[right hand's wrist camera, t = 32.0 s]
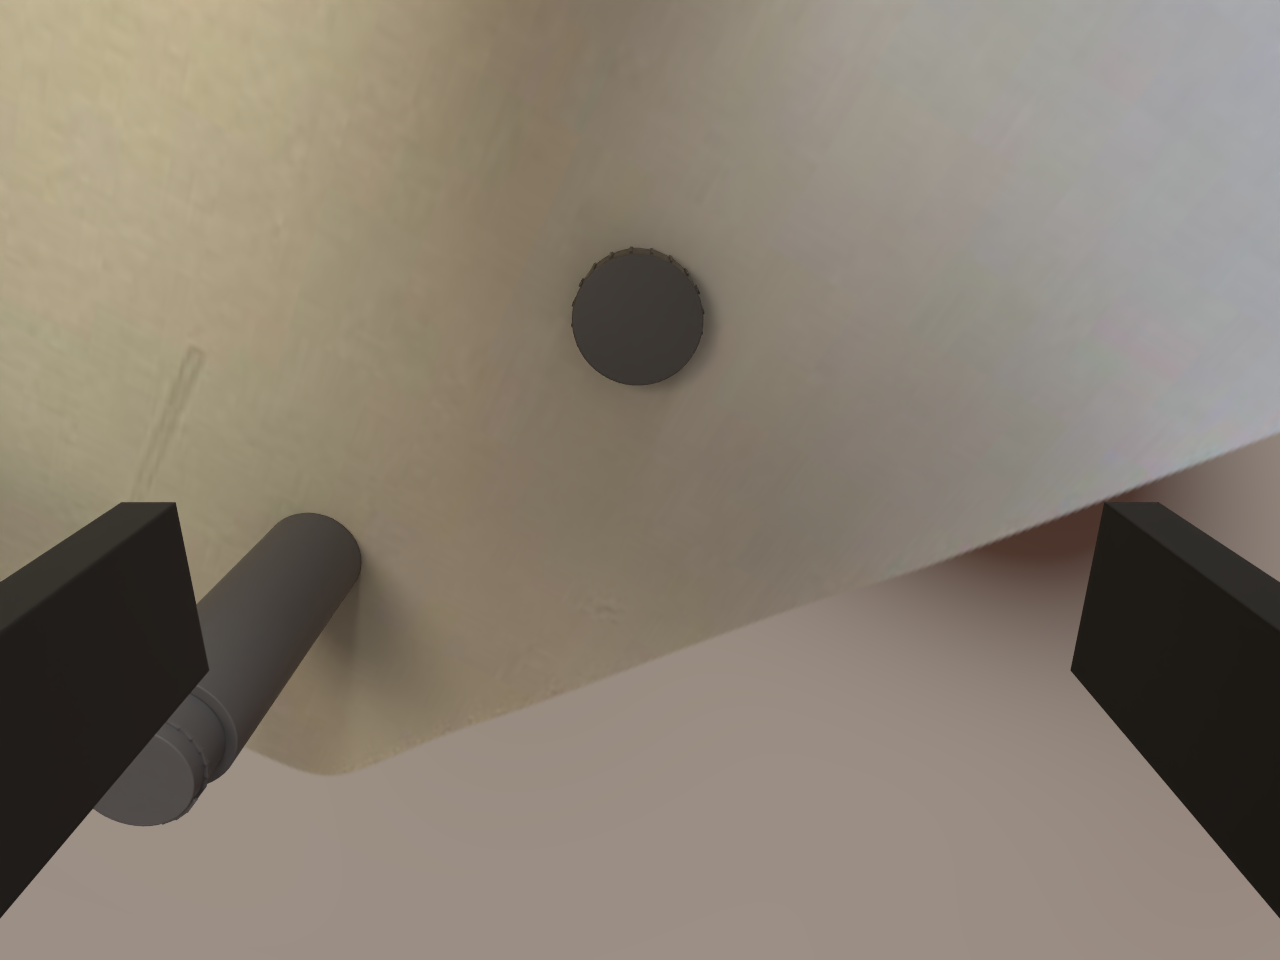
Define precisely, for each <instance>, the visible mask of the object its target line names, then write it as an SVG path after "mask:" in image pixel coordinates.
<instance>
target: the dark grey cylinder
mask: <svg viewBox="0 0 1280 960" xmlns="http://www.w3.org/2000/svg"><path fill="white" fill-rule="evenodd" d="M360 569H361V555H360V551H359V548H358V545H357V543H356V541H355V539H354V538H353V536H352V535H351V534H350V533H349V531H348V530H347V529H346V528H345V527H343V526H342V525H341V524H339V523H338V522H336V521H335V520H333V519H331V518H329V517H326V516H323V515H319V514H313V513H301V514H295V515H292V516H289V517H287V518H285V519H283V520H282V521H280V522H279V523H278V524H277V525H276V526H274V527H273V528H272V529H271V530H270V531H269V532H268V533H267V534H266V535H265V537H264V538H263V539H262V540H261V541H260V542H259V543H258V544H257V545H256V546H255V547H254V548H253V549H252V550H251V551H250V552H249V553H248V554H247V555H246V556H245V557H244V558H243V559H242V560H241V561H240V562H239V563H238V564H237V565H236V566H235V567H234V568H233V569H232V570H231V571H230V572H229V573H228V574H227V575H226V576H225V577H224V578H223V579H222V580H221V581H220V582H219V583H218V584H217V585H216V586H215V587H214V588H213V589H212V590H211V591H210V592H209V593H208V594H207V595H206V596H205V597H204V598H203V599H202V600H201V601H200V602H199V603H198V604H197V605H196V606H197V611H198V616H199V621H200V626H201V631H202V636H203V641H204V646H205V651H206V656H207V661H208V666H209V671H208V673H207V674H206V675H205V676H204V677H203V679H202V680H201V681H200V682H199V683H198V685H197V686H196V687H195V688H194V689H193V690H192V692H191V693H190V694H189V695H188V696H187V698H186V699H185V700H184V701H183V702H182V703H181V705H180V706H179V707H178V708H177V709H176V711H175V712H174V713H173V714H172V715H171V717H170V718H169V719H168V720H167V721H166V722H165V724H164V725H163V726H162V727H161V728H160V730H159V731H158V732H157V733H156V734H155V735H154V737H153V738H152V739H151V740H150V741H149V743H148V744H147V745H146V746H145V747H144V748H143V750H142V751H141V752H140V753H139V754H138V756H137V757H136V758H135V759H134V760H133V762H132V763H131V764H130V765H129V766H128V767H127V769H126V770H125V771H124V772H123V773H122V775H121V776H120V777H119V778H118V779H117V780H116V782H115V783H114V784H113V785H112V786H111V788H110V789H109V790H108V791H107V792H106V794H105V795H104V796H103V797H102V798H101V799H100V801H99V802H98V803H97V804H96V805H95V807H94V808H93V809H95V810H96V811H97V812H99V813H100V814H102V815H104V816H106V817H108V818H110V819H112V820H115V821H117V822H121V823H124V824H128V825H134V826H153V825H159V824H165V823H168V822H171V821H173V820H177V819H179V818H180V817H182V816H183V815H184V814H186V813H188V812H189V810H190V809H191V808H192V806H193V805H194V804H195V802H196V801H197V799H198V797H199V796H200V794H201V793H202V792H203V791H204V789H205V788H206V786H207V784H208V783H210V782H212V781H214V780H216V779H217V778H219V777H220V776H222V775H223V774H224V773H225V772H226V771H227V770H228V769H229V768H230V766H231V765H232V763H233V762H234V760H235V759H236V757H237V756H238V754H239V753H240V751H241V750H242V748H243V747H244V745H245V744H246V743H247V741H248V740H249V738H250V737H251V735H252V734H253V732H254V731H255V729H256V728H257V726H258V725H259V723H260V722H261V720H262V719H263V717H264V716H265V714H266V713H267V711H268V710H269V708H270V707H271V706H272V704H273V703H274V701H275V700H276V698H277V697H278V695H279V694H280V692H281V691H282V689H283V688H284V686H285V685H286V683H287V682H288V680H289V679H290V677H291V676H292V674H293V673H294V671H295V670H296V669H297V667H298V666H299V664H300V663H301V661H302V660H303V658H304V657H305V655H306V654H307V652H308V651H309V649H310V648H311V646H312V645H313V643H314V642H315V640H316V639H317V637H318V636H319V634H320V633H321V632H322V630H323V629H324V627H325V626H326V624H327V623H328V621H329V620H330V618H331V617H332V615H333V614H334V612H335V611H336V609H337V608H338V606H339V605H340V603H341V602H342V600H343V599H344V597H345V596H346V595H347V593H348V592H349V590H350V589H351V587H352V586H353V584H354V583H355V581H356V580H357V578H358V575H359V572H360Z"/></svg>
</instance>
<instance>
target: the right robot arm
mask: <svg viewBox="0 0 1280 960" xmlns="http://www.w3.org/2000/svg"><path fill="white" fill-rule="evenodd" d="M208 671H209V666H208V661H207V656H206V651H205V646H204V641H203V636H202V631H201V626H200V621H199V616H198V611H197V606H196V601H195V596H194V591H193V586H192V581H191V576H190V571H189V567H188V562H187V557H186V552H185V547H184V542H183V537H182V532H181V527H180V522H179V517H178V512H177V507H176V502H121V503H120V504H118V505H117V506H115V507H114V508H112V509H111V510H109V511H108V512H106V513H105V514H103V515H102V516H100V517H98V518H97V519H95V520H94V521H92V522H91V523H89V524H88V525H86V526H85V527H83V528H82V529H80V530H79V531H77V532H76V533H74V534H73V535H71V536H70V537H68V538H67V539H65V540H64V541H62V542H61V543H59V544H58V545H56V546H55V547H53V548H52V549H50V550H48V551H47V552H45V553H44V554H42V555H41V556H39V557H38V558H36V559H35V560H33V561H32V562H30V563H29V564H27V565H26V566H24V567H23V568H21V569H20V570H18V571H17V572H15V573H14V574H12V575H11V576H9V577H8V578H6V579H5V580H3V581H1V582H0V918H1V917H2V916H3V914H4V913H5V912H6V911H7V910H8V908H9V907H10V906H11V905H12V904H13V903H14V901H15V900H16V899H17V898H18V897H19V895H20V894H21V893H22V892H23V891H24V889H25V888H26V887H27V886H28V885H29V884H30V882H31V881H32V880H33V879H34V878H35V876H36V875H37V874H38V873H39V872H40V871H41V869H42V868H43V867H44V866H45V865H46V863H47V862H48V861H49V860H50V859H51V857H52V856H53V855H54V854H55V853H56V852H57V850H58V849H59V848H60V847H61V846H62V844H63V843H64V842H65V841H66V840H67V839H68V837H69V836H70V835H71V834H72V833H73V831H74V830H75V829H76V828H77V827H78V826H79V824H80V823H81V822H82V821H83V820H84V818H85V817H86V816H87V815H88V814H89V812H90V811H91V810H92V809H93V808H94V807H95V805H96V804H97V803H98V802H99V801H100V799H101V798H102V797H103V796H104V795H105V794H106V792H107V791H108V790H109V789H110V788H111V786H112V785H113V784H114V783H115V782H116V780H117V779H118V778H119V777H120V776H121V775H122V773H123V772H124V771H125V770H126V769H127V767H128V766H129V765H130V764H131V763H132V762H133V760H134V759H135V758H136V757H137V756H138V754H139V753H140V752H141V751H142V750H143V748H144V747H145V746H146V745H147V744H148V743H149V741H150V740H151V739H152V738H153V737H154V735H155V734H156V733H157V732H158V731H159V730H160V728H161V727H162V726H163V725H164V724H165V722H166V721H167V720H168V719H169V718H170V717H171V715H172V714H173V713H174V712H175V711H176V709H177V708H178V707H179V706H180V705H181V703H182V702H183V701H184V700H185V699H186V698H187V696H188V695H189V694H190V693H191V692H192V690H193V689H194V688H195V687H196V686H197V685H198V683H199V682H200V681H201V680H202V679H203V677H204V676H205V675H206V674H207V673H208ZM1071 671H1072V673H1073V674H1074V675H1075V676H1076V677H1077V679H1078V680H1079V681H1080V682H1081V683H1082V685H1083V686H1084V687H1085V688H1086V689H1087V690H1088V692H1089V693H1090V694H1091V695H1092V696H1093V698H1094V699H1095V700H1096V701H1097V702H1098V703H1099V705H1100V706H1101V707H1102V708H1103V709H1104V711H1105V712H1106V713H1107V714H1108V715H1109V717H1110V718H1111V719H1112V720H1113V721H1114V722H1115V724H1116V725H1117V726H1118V727H1119V728H1120V730H1121V731H1122V732H1123V733H1124V734H1125V735H1126V737H1127V738H1128V739H1129V740H1130V741H1131V743H1132V744H1133V745H1134V746H1135V747H1136V748H1137V750H1138V751H1139V752H1140V753H1141V754H1142V756H1143V757H1144V758H1145V759H1146V760H1147V762H1148V763H1149V764H1150V765H1151V766H1152V767H1153V769H1154V770H1155V771H1156V772H1157V773H1158V775H1159V776H1160V777H1161V778H1162V779H1163V780H1164V782H1165V783H1166V784H1167V785H1168V786H1169V788H1170V789H1171V790H1172V791H1173V792H1174V794H1175V795H1176V796H1177V797H1178V798H1179V799H1180V801H1181V802H1182V803H1183V804H1184V805H1185V807H1186V808H1187V809H1188V810H1189V811H1190V812H1191V814H1192V815H1193V816H1194V817H1195V818H1196V820H1197V821H1198V822H1199V823H1200V824H1201V826H1202V827H1203V828H1204V829H1205V830H1206V831H1207V833H1208V834H1209V835H1210V836H1211V837H1212V838H1213V840H1214V841H1215V842H1216V843H1217V844H1218V846H1219V847H1220V848H1221V849H1222V850H1223V852H1224V853H1225V854H1226V855H1227V856H1228V858H1229V859H1230V860H1231V861H1232V862H1233V863H1234V865H1235V866H1236V867H1237V868H1238V869H1239V871H1240V872H1241V873H1242V874H1243V875H1244V876H1245V878H1246V879H1247V880H1248V881H1249V882H1250V884H1251V885H1252V886H1253V887H1254V888H1255V889H1256V891H1257V892H1258V893H1259V894H1260V895H1261V897H1262V898H1263V899H1264V900H1265V901H1266V903H1267V904H1268V905H1269V906H1270V907H1271V908H1272V910H1273V911H1274V912H1275V913H1276V914H1277V915H1278V917H1279V918H1280V582H1279V581H1277V580H1275V579H1274V578H1272V577H1271V576H1269V575H1268V574H1266V573H1265V572H1263V571H1262V570H1260V569H1259V568H1257V567H1256V566H1254V565H1253V564H1251V563H1250V562H1248V561H1247V560H1245V559H1244V558H1242V557H1241V556H1239V555H1238V554H1236V553H1235V552H1233V551H1232V550H1230V549H1228V548H1227V547H1225V546H1224V545H1222V544H1221V543H1219V542H1218V541H1216V540H1215V539H1213V538H1212V537H1210V536H1209V535H1207V534H1206V533H1204V532H1203V531H1201V530H1200V529H1198V528H1197V527H1195V526H1194V525H1192V524H1191V523H1189V522H1188V521H1186V520H1184V519H1183V518H1181V517H1180V516H1178V515H1177V514H1175V513H1174V512H1172V511H1171V510H1169V509H1168V508H1166V507H1165V506H1163V505H1162V504H1160V503H1159V502H1105V503H1104V507H1103V512H1102V517H1101V522H1100V527H1099V532H1098V537H1097V542H1096V547H1095V552H1094V557H1093V562H1092V567H1091V571H1090V576H1089V582H1088V586H1087V591H1086V596H1085V601H1084V606H1083V611H1082V616H1081V621H1080V626H1079V631H1078V636H1077V641H1076V646H1075V651H1074V656H1073V661H1072V666H1071Z"/></svg>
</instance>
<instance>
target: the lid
mask: <svg viewBox="0 0 1280 960" xmlns="http://www.w3.org/2000/svg"><path fill="white" fill-rule="evenodd" d="M579 287H580V289H579V291H578V293H577V296H576V297H575V299H574V301H573V303H572V306H573V313H572V324H571V326H572V327H573V333H574V337H575V340H576V343H577V346H578V348H579V350H580V352H581V353H582V355H583V357H584V358H585V359H586V361H587V362H588V363H589V364H590V365H591V366H592V367H593V368H594V369H595V370H596V371H598V372H599V373H600V374H602V375H603V376H605V377H607V378H609V379H611V380H613V381H616V382H619V383H623V384H628V385H647V384H653V383H656V382H660V381H662V380H664V379H667V378H668V377H670V376H672V375H674V374H675V373H676V372H678V371H679V370H680V369H681V368H682V367H683V366H684V365H685V364H686V363H687V362H688V361H689V360H690V358H691V357H692V355H693V354H694V353H695V350H696V348H697V346H698V344H699V341H700V338H701V335H702V333H703V332H702V328H703V314H704V310H703V308H702V305H701V301H700V298H699V296H698V294H700V293H699V290H698V288H697V286H694V284H693V282H692V280H691V278H690V277H689V274H688V271H687V269H686V268H685V269H683V268H682V267H681V266H680V265H679V264H678V263H677V262H676V261H674V260H673V259H672V256H670V255H669V257H668V256H666V255H664V254H662V253H660V252H657V251H653V248H650V249H642V248H633V247H630V249H626V250H622V251H618V252H616V253H613V252H611V253H610V255H609V256H607V257H606V258H604V259H602V260H601V261H600V262H599V263H597V264H596V263H594V265H593V267H592V269H591V270H590V272H589V273H588V275H587V276H586V277H585V279H582V280H581V282H580V285H579Z"/></svg>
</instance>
